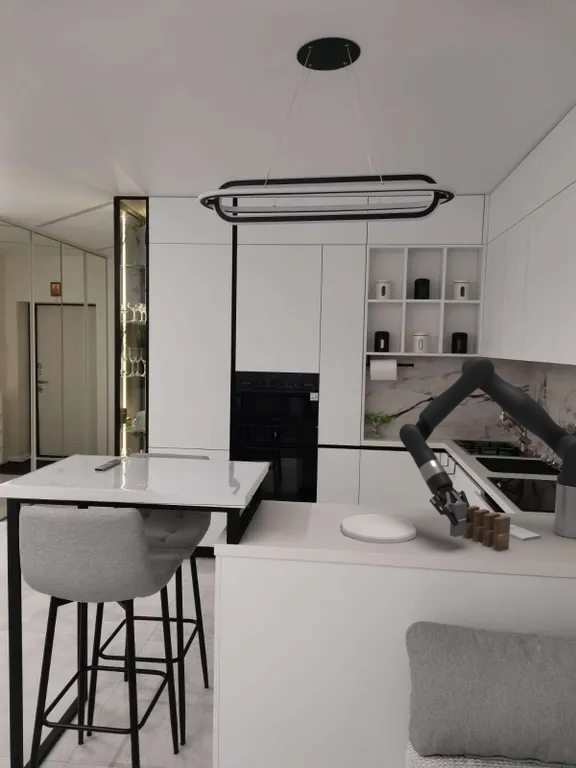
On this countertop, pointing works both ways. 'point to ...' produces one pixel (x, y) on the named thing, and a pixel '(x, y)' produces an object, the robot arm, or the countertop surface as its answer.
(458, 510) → the domino
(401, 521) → the decorative plate
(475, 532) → the domino
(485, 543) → the domino
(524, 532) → the external hard drive
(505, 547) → the domino
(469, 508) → the domino
